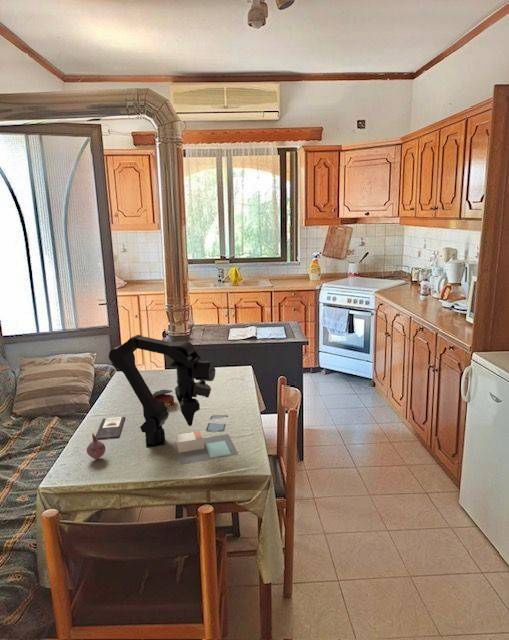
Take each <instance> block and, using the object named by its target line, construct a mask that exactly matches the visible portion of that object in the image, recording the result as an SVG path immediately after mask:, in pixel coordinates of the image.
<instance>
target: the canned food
mask: <svg viewBox="0 0 509 640" xmlns="http://www.w3.org/2000/svg"><path fill="white" fill-rule="evenodd" d="M172 392H173V390H170V389H161V390H158V391H157V390H156V391H154V393H152V395H153V397H154V398H155V399H156V400H157V401H159V402H161V401H163V402H164V404H165V406H166V407H167V408H168V407H169V408H171V407H173V406H174V405H175V397H174V395H172V394H170V393H172ZM172 405H173V406H172ZM170 406H171V407H170ZM169 408H168V409H169Z"/></svg>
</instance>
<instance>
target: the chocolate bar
mask: <svg viewBox="0 0 509 640" xmlns="http://www.w3.org/2000/svg"><path fill="white" fill-rule="evenodd" d="M125 420H126V416H118V417H108V418H102V420H101V422H100V424H99V427H98V430H97V432H96V433H95V434H96V435H95V437H96V439H101V440H108V439H107V438H111V439H119V438H120V436H121V432H122V429H123V427H124V424H125ZM123 423H124V424H123ZM122 426H123V427H122Z"/></svg>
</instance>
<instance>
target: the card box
mask: <svg viewBox="0 0 509 640" xmlns="http://www.w3.org/2000/svg"><path fill="white" fill-rule="evenodd" d="M175 438H176V442H177V447H178V451H179V453H181V452H187V451H193V450H199V449H204V438H205V437H204V436H203V433H202V430H196V431H191V432H186V433H179V434H176V435H175Z"/></svg>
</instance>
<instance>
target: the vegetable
mask: <svg viewBox="0 0 509 640" xmlns="http://www.w3.org/2000/svg"><path fill="white" fill-rule="evenodd" d="M95 436H96V435H95V433H92V437H91V438H92V441H91V442H90V443H89V444H88V446H87V448H86V453H87V455H88V456H89V457H91V458H93V459H94V460H99V459H101V457H103V456H105V455H104V454H105V453H106V446H105V444H104V443H103V442H102V441H100V440H96V437H95Z"/></svg>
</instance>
